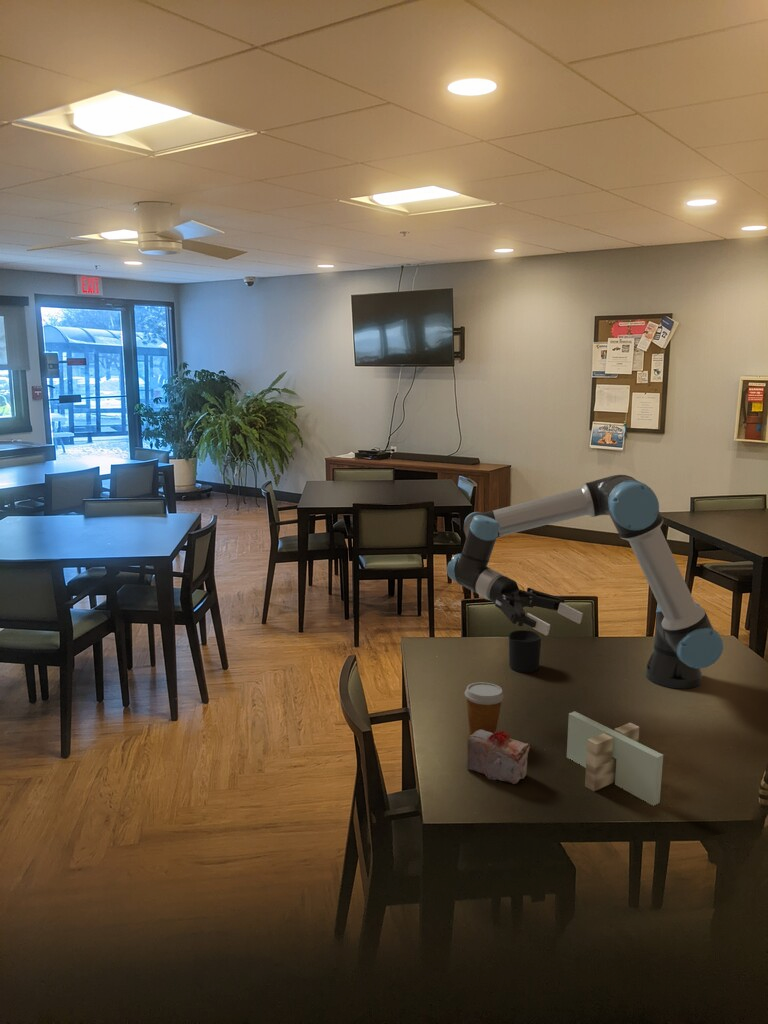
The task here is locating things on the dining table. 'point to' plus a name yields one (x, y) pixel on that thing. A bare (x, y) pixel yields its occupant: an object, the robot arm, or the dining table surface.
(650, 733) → the dining table surface
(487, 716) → the disposable coffee cup
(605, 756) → the birch slotted plate
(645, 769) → the sage slotted plate
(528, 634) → the pen holder
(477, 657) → the dining table surface
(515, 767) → the food item
